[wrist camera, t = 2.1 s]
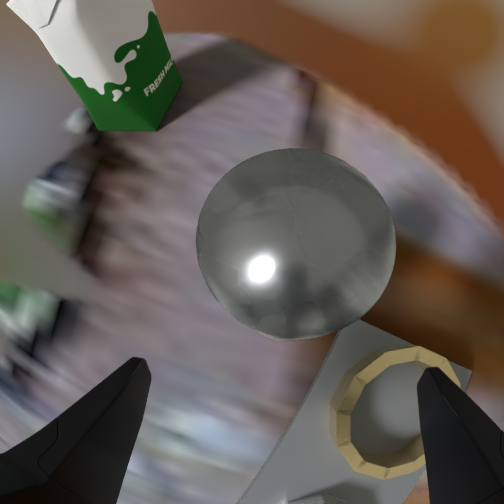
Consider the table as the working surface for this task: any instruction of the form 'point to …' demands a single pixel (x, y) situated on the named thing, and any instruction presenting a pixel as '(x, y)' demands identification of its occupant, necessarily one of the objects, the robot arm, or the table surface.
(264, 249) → the disc
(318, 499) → the narrow aluminium socket
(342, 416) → the wide brass socket
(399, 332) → the table surface
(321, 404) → the fitting board
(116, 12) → the milk carton
